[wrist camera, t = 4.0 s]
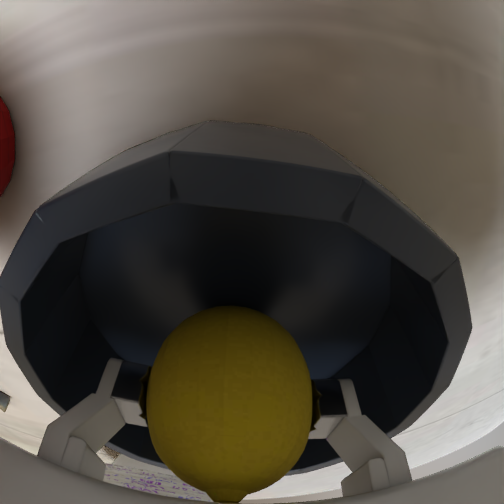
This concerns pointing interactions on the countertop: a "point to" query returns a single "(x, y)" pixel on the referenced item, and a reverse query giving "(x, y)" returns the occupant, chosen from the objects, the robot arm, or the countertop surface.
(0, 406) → the toy food set
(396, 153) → the countertop surface
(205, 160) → the pot
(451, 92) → the countertop surface
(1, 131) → the plastic cup
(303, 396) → the lemon
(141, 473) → the paper bowls
